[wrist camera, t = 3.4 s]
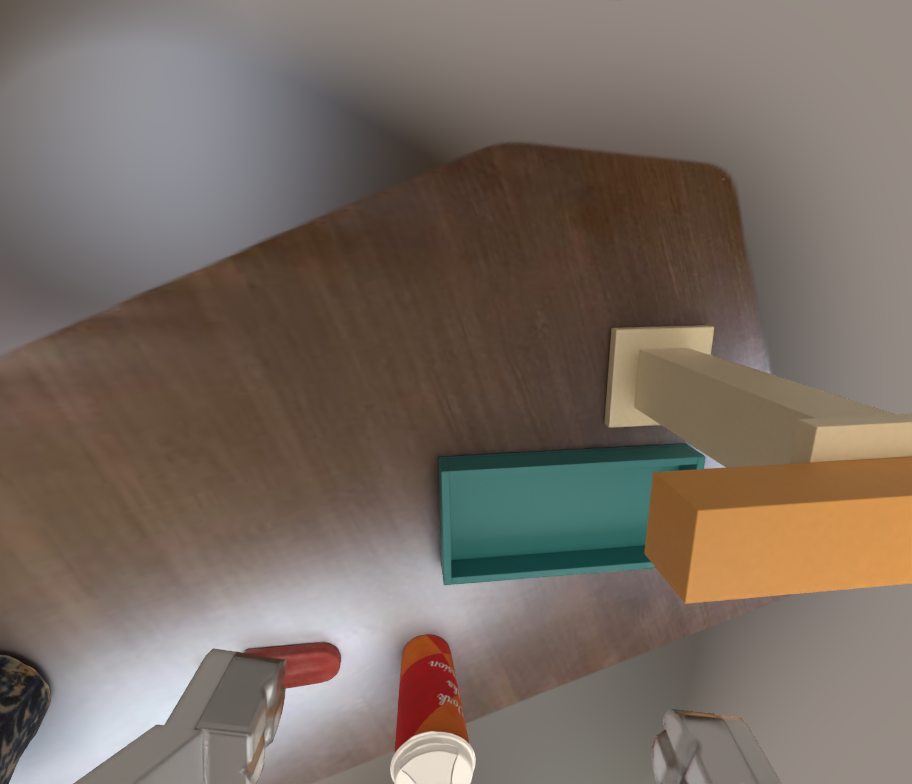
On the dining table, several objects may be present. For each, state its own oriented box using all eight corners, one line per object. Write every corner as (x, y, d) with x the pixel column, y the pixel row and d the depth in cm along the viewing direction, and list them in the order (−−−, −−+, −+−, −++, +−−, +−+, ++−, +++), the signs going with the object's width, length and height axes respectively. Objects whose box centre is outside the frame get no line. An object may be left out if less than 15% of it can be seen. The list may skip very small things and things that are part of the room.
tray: (441, 563, 53) (443, 585, 49) (438, 456, 49) (441, 471, 46) (672, 546, 55) (690, 565, 52) (685, 443, 52) (705, 456, 49)
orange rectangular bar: (643, 553, 24) (684, 604, 20) (652, 471, 23) (697, 510, 19) (1002, 525, 26) (1095, 567, 22) (1028, 448, 25) (1130, 480, 21)
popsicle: (191, 667, 51) (337, 649, 52) (197, 654, 52) (339, 637, 54) (199, 701, 52) (341, 682, 54) (205, 688, 54) (343, 670, 55)
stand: (594, 424, 50) (784, 589, 25) (601, 328, 48) (821, 406, 23) (703, 418, 51) (987, 571, 27) (716, 324, 49) (1045, 396, 24)
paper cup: (464, 672, 57) (484, 800, 44) (400, 687, 57) (400, 821, 43) (452, 618, 55) (469, 736, 41) (385, 634, 54) (380, 757, 41)
